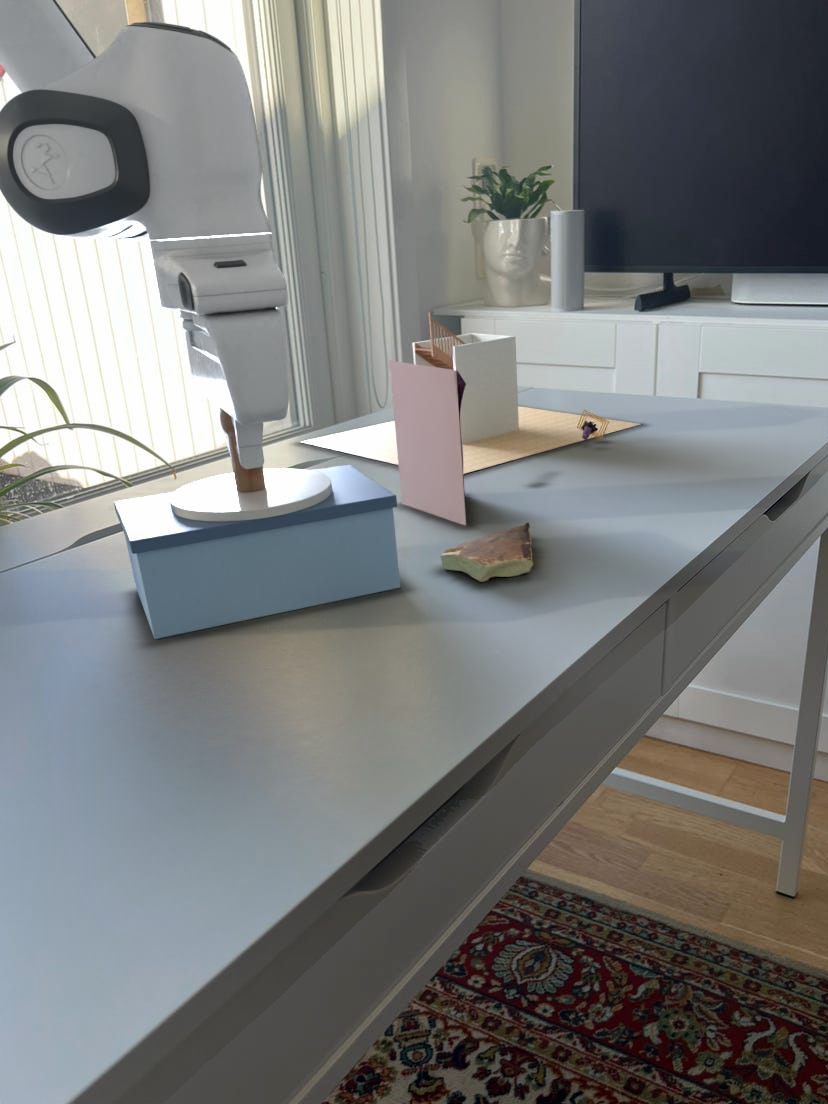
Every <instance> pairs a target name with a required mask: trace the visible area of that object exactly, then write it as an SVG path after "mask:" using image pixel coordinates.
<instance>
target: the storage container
mask: <svg viewBox="0 0 828 1104" xmlns="http://www.w3.org/2000/svg"><path fill="white" fill-rule="evenodd" d="M310 471H315V472H319V473H322V474H325V475H326V476H328V477H329V478H330V479H331V482H332V493H331V495H330V496H329V497H328V498H327V499H325V500H324V501H322V502H320V503H318V504H316V505H314V506H311V507H309V508H306V509H303V510H300V511H296V512H293V513H289V514H284V515H280V516H275V517H269V518H263V519H255V520H246V521H231V522H209V521H197V520H191V519H186V518H182V517H180V516H177V515H176V514H174V513H173V512H172V511H171V508H170V502H169V498H170V496H171V494H172V493H174V492H175V491H171V492H165V493H158V494H153V495H146V496H145V495H144V496H139V497H134V498H127V499H126V498H125V499H120V500H115V501H113V506H114V510H115V515H116V516H117V519H118V521H119V524H120V526H121V529H122V532H123V534H124V537H125V542H126V547H127V550H128V556H129V560H130V565H131V569H132V574H133V578H134V579H133V580H134V583H135V588H136V592H137V595H138V597H139V600H140V603H141V606H142V608H143V611H144V613H145V616H146V619H147V622H148V625H149V627H150V630H151V633H152V635H153V638H154V639H155V640H158V639H163V638H167V637H171V636H172V637H173V636H176V635H177V636H178V635H182V634H186V633H191V632H196V631H201V630H206V629H211V628H215V627H219V626H224V625H230V624H234V623H238V622H244V621H248V620H253V619H257V618H262V617H267V616H271V615H277V614H281V613H287V612H290V611H295V610H300V609H301V610H302V609H305V608H309V607H314V606H319V605H324V604H329V603H334V602H338V601H342V600H343V601H344V600H348V599H353V598H356V597H363V596H367V595H373V594H377V593H382V592H385V591H390V590H396V589H399V588H401V578H400V568H399V558H398V548H397V537H396V528H395V527H396V526H395V518H394V517H395V515H394V508H397V507H398V501H397V500H398V499H397V495H396V494H395V493H393V492H392V491H390V490H389V489H388V488H386V487H385V486H383V485H381V484H380V483H379V482H377V481H375V480H374V479H373V478H370V477H369V476H368V475H366V474H365V473H363V472H362V471H361V470H359V469H357V468H355V466H353V465H351V464H350V463H349V464H342V465H334V466H328V467H323V468H316V469H310Z"/></svg>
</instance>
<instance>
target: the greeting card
mask: <svg viewBox="0 0 828 1104" xmlns="http://www.w3.org/2000/svg"><path fill="white" fill-rule="evenodd" d="M388 363H389V364H388V365H389V376H390V386H391V397H392V398H391V399H392V407H393V418H394V420H393V421H395V432H396V443H397V454H398V465H397V466H398V475H399V476H398V477H399V486H400V496H401V504H402V505H404V506H408V507H410V508H413V509H417V510H419V511H422V512H425V513H428V514H431V515H434V516H437V517H439V518H442V519H446V520H449V521H450V522H454V523H457V524H460V525H463V526H467V516H466V492H465V477H464V475H465V474H463V446H462V438H461V427H460V410H461V402H462V397H463V393H464V389H465V386H466V383H465V381H464V380H463V378H462V377H461V375H460V373H459V372H458V370H457V371H456V366H455V361H454V356H453V367H454V370H451V369H444V368H437V367H430V366H423V365H417V364H414V363H409V362H401V361H397V360H388Z"/></svg>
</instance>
